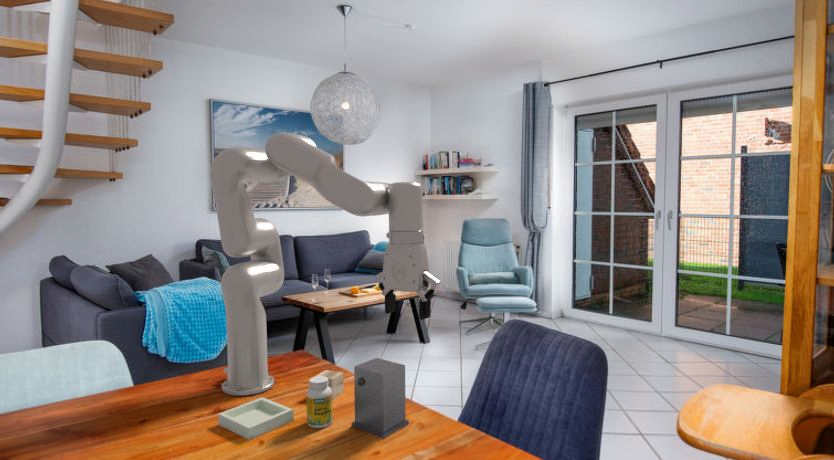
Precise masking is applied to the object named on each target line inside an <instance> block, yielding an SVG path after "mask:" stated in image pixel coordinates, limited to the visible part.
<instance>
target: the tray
mask: <svg viewBox="0 0 834 460" xmlns="http://www.w3.org/2000/svg"><path fill="white" fill-rule="evenodd" d="M217 419H218V426H220V427H222V428H224V429H227V430H228V431H231V432H232V433H234V434H237V435H239V436H240V437H242V438H244V439H246V440H248V441H250V440H253V439H255V438H257V437H260V436H261V435H264V434H266V433H269V432H271V431H272V430H275V429H278V428H280V427H281V426H282V427H283V426H285V425H286V424H288V423H291V422H293V421H294V419H295V415H294V409H293V408H290V407H288V406H286V405H283V404H281V403H278V402H276V401H273V400H270V399H269V398H266V397H262V396H261V397H259V398H256V399H253V400H252V401H249V402H245V403H243V404H240V405H239V406H236V407H233V408H230V409H228V410H225V411H222V412H219V413H218V417H217Z"/></svg>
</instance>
